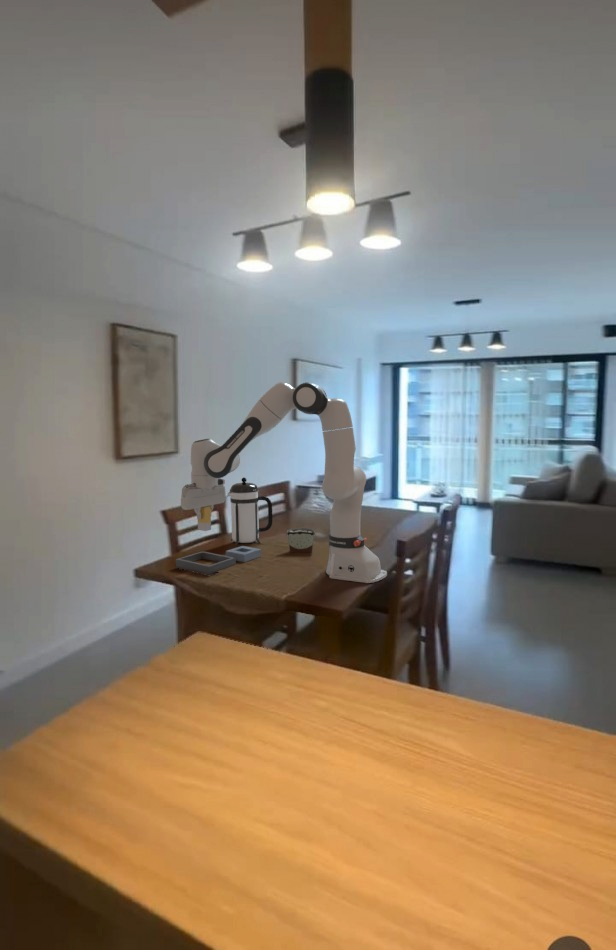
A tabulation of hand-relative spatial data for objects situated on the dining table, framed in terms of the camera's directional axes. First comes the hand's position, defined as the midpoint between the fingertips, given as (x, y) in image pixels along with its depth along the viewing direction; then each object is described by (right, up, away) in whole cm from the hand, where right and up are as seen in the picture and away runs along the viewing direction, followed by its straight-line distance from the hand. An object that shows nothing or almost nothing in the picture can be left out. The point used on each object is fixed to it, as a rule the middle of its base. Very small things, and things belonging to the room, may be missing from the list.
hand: (204, 517), depth 209 cm
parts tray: (0, -19, +2) cm, 19 cm away
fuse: (0, -5, +1) cm, 5 cm away
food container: (+37, -17, +23) cm, 46 cm away
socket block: (+13, -18, +12) cm, 26 cm away
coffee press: (+12, -15, +40) cm, 44 cm away
